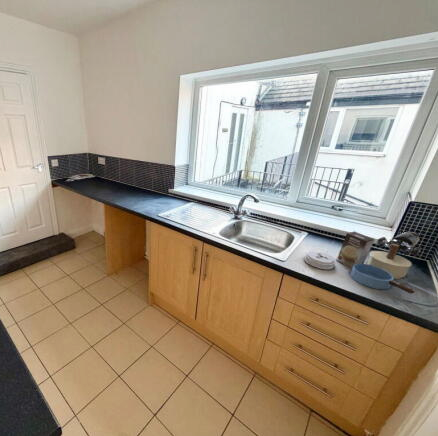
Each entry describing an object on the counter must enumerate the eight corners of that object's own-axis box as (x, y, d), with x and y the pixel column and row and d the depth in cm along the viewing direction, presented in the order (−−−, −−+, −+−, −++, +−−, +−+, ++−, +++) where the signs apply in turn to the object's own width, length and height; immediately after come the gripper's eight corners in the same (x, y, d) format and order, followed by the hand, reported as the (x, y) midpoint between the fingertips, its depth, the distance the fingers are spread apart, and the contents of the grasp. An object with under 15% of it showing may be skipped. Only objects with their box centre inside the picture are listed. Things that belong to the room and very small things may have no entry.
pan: (419, 295, 100) (424, 286, 98) (401, 303, 95) (405, 294, 93) (361, 269, 118) (364, 261, 117) (343, 275, 113) (346, 266, 112)
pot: (410, 275, 114) (416, 263, 111) (394, 281, 109) (399, 269, 107) (376, 261, 125) (380, 250, 123) (359, 266, 121) (364, 255, 118)
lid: (338, 272, 116) (341, 263, 114) (309, 268, 118) (311, 260, 116) (327, 258, 127) (329, 250, 125) (300, 255, 130) (302, 247, 128)
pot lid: (417, 265, 111) (425, 249, 108) (399, 271, 106) (407, 254, 103) (379, 251, 124) (385, 236, 121) (362, 255, 119) (367, 240, 116)
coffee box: (335, 260, 125) (345, 232, 119) (343, 258, 127) (353, 230, 121) (354, 270, 117) (366, 241, 111) (363, 267, 119) (375, 238, 113)
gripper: (388, 229, 125) (376, 236, 117) (428, 240, 114) (417, 248, 105) (383, 242, 127) (371, 250, 119) (421, 254, 116) (411, 263, 108)
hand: (393, 249), depth 112 cm, fingers open, 8 cm apart
